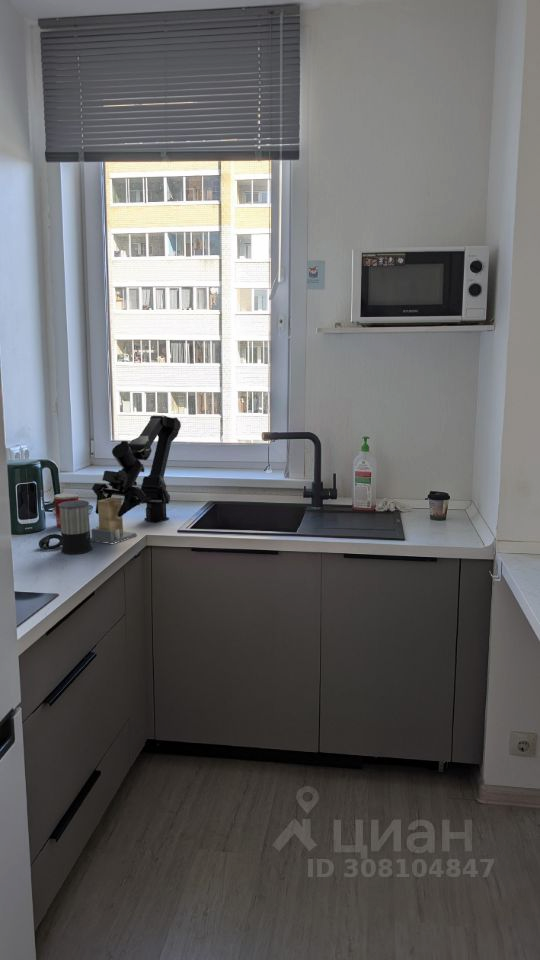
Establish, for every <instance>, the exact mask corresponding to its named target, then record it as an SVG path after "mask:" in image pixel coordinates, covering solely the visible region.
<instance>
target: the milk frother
mask: <svg viewBox="0 0 540 960" xmlns="http://www.w3.org/2000/svg"><path fill="white" fill-rule="evenodd" d="M89 504H90V502H89V501H87V500H82V499H78V500H75V501H67V502H62V503H60V504H58V506H59V509H60V522H61V528H60V534H58V533H52V534H48V535H46V536H44V537H42V538H40V539H39V540H38V547H39V548H40V549H43V550H55V549H58V548H60V547H61V549H60V551H61V553H62V554H68V555H79V554H85V553H89V552H90V551H92V550H93V546H92V541H91V538H92V537H91V527H90V526H91V525H90V512H89V511H90V510H89ZM51 539H56V540H58V541H59V542H58V543H56V544H53V545H50V541H51Z"/></svg>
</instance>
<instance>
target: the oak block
mask: <svg viewBox="0 0 540 960" xmlns="http://www.w3.org/2000/svg"><path fill="white" fill-rule="evenodd" d="M122 504H123V501H122V498H119V497H112V496H111V497H110V498H107V499H103V500H99V501H98V514H97V515H98V527H99V529H102V530H109V531H113V536H114V538H115V535H114V530H115V529H119V532H120V536H121V535H123V531H124V527H123V526H124V524H123V522H124V521H123V515H122V516H121V517H118V512H119V510H120V508H121V506H122Z"/></svg>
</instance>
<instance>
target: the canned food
mask: <svg viewBox="0 0 540 960" xmlns="http://www.w3.org/2000/svg"><path fill="white" fill-rule="evenodd" d="M75 500H79V494H77V493H75V492H64V493H59V494H58V493H57V494H55V495H54V508H55V519H56V520H55V522H56V526H57V528H58V529H61V522H60V509H59V506H58V504H60V503H62V502H67V501H75Z"/></svg>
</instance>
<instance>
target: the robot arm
mask: <svg viewBox="0 0 540 960" xmlns="http://www.w3.org/2000/svg"><path fill="white" fill-rule="evenodd" d="M181 425H182V424H181V420H179V419H178V418H177V417H174V416H173V417H170V416H166V415H164V414H153V415H151V416H150V417H149V421H148V423H147V425H146V426H145V427H144V428H143V430H142V431H141V433H140V434H139V436H138V437H136V438H134V439H131V441H130V442H129V441H128V440H121V441H120V443H117V445H115V446H114V447H113V448H112V450H111V454H112V456H113V457H114V458H115V459H114V460H116V462H117V463H118V464H119V466H120V467H122V468H121V469H118V471H114V470H104V472H103V474H102V475H103V476H102V481H103V482H108V485H107V484H106V483H102V482H101V483H99V482H97V483H94V484H93V486H92V488H91V490H92V491H93V493H94V494H95V495H96V505H95V514H96V515H99V514H98V501H99V500H103V499H107V498H110V497H112V496H120V497H124V499H123V501H122V506H121V508H120V510H119V512H118V517H121V516H122V517H123V516H124V515H125V514H126V513H128V512H129V511H131V510H132V509H134V508H135V507H137V506H140V505H141V504H143V505H144V504H146V508H145V517H144V521H149V522H152V523H158V522H161V521H163V522H164V521H167V520H170V517H167V504H170V500H171V495H170V494H169V492H168V490H167V484H166V482H165V480H164V477H165V471H166V468H167V464H168V459H169V454H170V450H171V447H172V442H173V441H174V440H175V439H176V438H177V437H178V436H179V432H180V431H181V429H182V428H181ZM156 438H158V439H157V443H156V446H155V451H154V455H153V460H152V464H151V469H150V473H149V475H147V476H144V477H143V479H142V483H141V486H140V487H137V484H138V482H137V479H138V476H139V475H140V473H145V467H144V464H143V463H142V462H141V461H147V460H148V459H149V458H150V455H151V453H152V448H151V447H152V444H153V443H154V441H155V439H156ZM109 486H110V487H111V488H110V487H109Z"/></svg>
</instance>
